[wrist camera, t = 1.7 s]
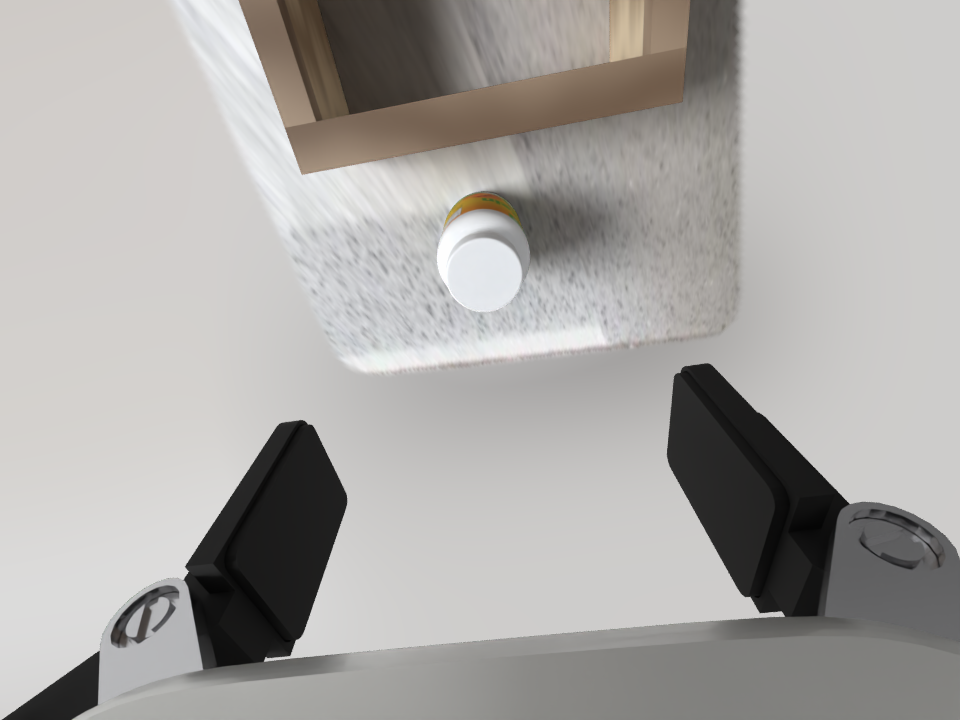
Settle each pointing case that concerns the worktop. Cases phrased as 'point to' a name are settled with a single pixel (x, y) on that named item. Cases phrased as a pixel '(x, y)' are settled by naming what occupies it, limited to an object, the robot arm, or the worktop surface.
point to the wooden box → (466, 115)
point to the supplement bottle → (483, 252)
